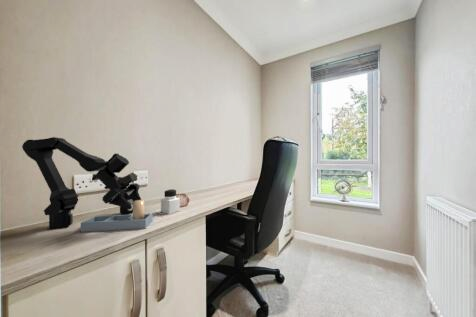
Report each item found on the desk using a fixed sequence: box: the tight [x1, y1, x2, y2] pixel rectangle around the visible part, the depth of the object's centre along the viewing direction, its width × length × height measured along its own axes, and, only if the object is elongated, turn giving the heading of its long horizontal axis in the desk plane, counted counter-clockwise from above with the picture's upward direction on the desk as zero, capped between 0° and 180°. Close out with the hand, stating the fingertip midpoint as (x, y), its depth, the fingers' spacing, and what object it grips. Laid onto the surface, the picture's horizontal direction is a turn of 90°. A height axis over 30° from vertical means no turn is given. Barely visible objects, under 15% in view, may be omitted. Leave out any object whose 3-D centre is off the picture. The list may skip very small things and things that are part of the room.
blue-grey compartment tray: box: [80, 213, 154, 233], centre depth 80 cm, size 25×9×4 cm, turn 97°
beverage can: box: [119, 194, 133, 215], centre depth 100 cm, size 7×7×12 cm
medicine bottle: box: [160, 189, 181, 215], centre depth 102 cm, size 7×7×12 cm
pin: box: [132, 199, 145, 220], centre depth 81 cm, size 4×4×10 cm
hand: (136, 205), depth 81 cm, fingers open, 9 cm apart
